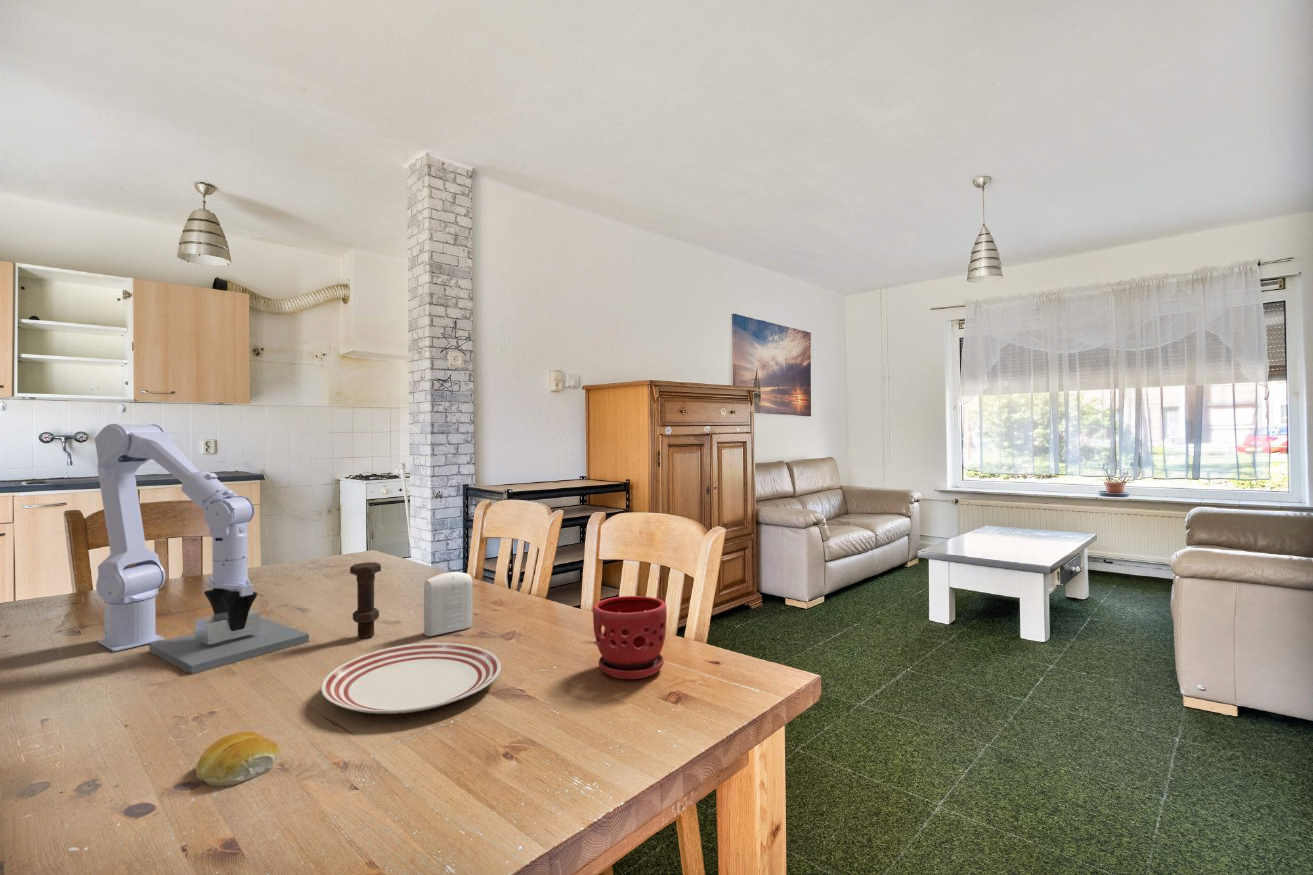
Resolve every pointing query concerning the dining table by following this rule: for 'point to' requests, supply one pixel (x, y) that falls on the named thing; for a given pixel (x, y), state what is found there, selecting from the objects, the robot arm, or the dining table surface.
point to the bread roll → (236, 759)
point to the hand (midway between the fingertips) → (230, 626)
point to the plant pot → (630, 635)
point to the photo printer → (447, 603)
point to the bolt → (365, 598)
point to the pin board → (226, 647)
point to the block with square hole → (224, 627)
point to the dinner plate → (410, 678)
